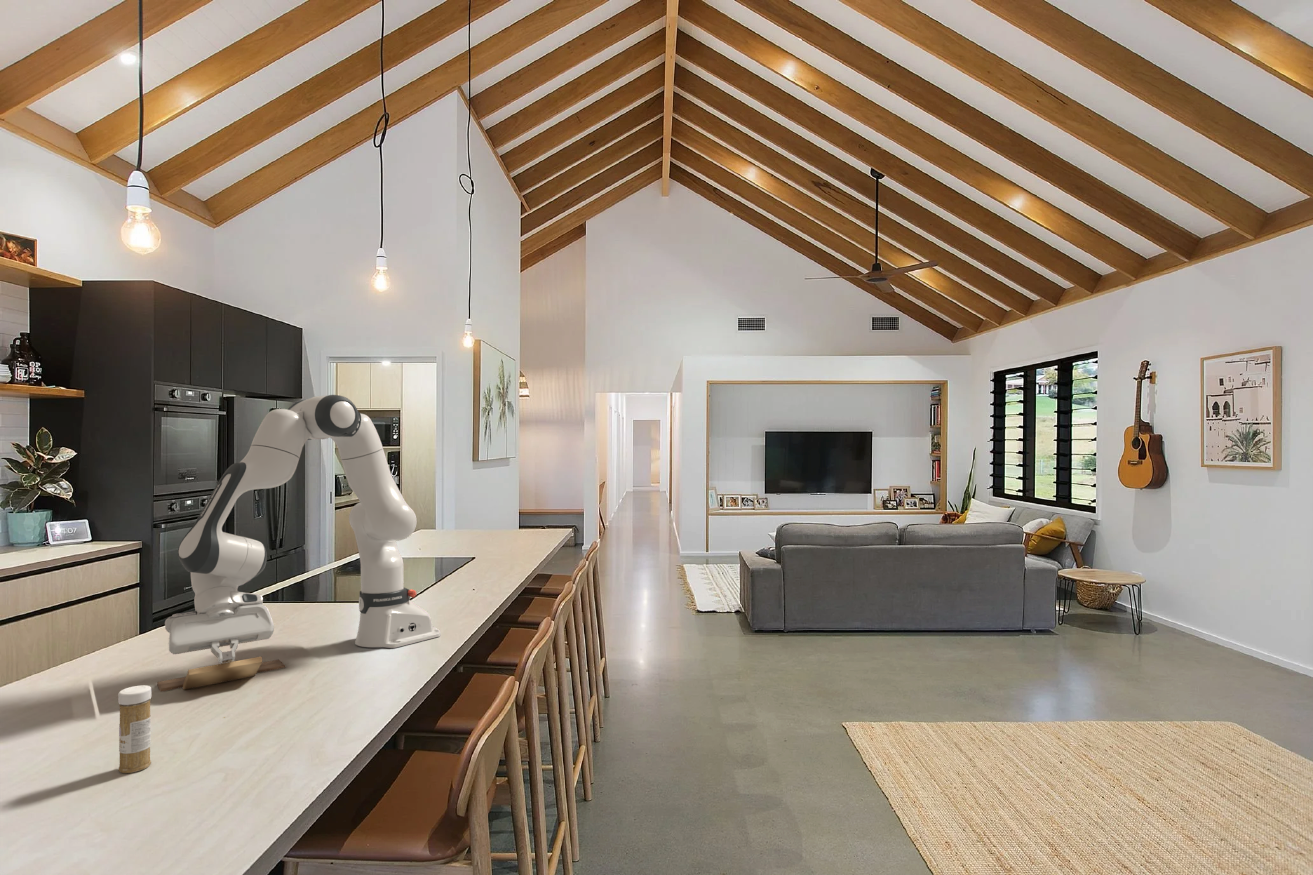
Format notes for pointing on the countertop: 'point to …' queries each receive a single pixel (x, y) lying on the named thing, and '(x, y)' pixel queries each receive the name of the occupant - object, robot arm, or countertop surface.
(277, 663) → the walnut floorboard
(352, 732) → the countertop surface
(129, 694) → the spice jar
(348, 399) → the robot arm
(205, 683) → the oak plank
